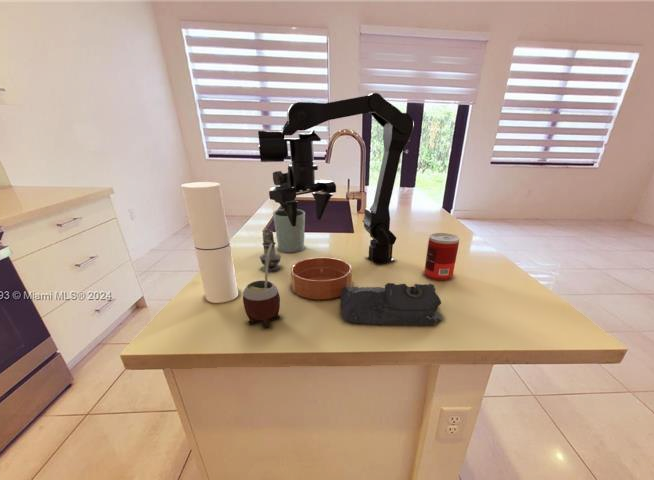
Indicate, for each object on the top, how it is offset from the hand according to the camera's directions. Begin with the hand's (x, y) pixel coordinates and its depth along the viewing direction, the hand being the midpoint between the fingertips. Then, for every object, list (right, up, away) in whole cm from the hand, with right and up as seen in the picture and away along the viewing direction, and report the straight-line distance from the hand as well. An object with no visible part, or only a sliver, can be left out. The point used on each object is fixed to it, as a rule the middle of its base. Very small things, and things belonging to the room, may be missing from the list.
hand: (306, 222), depth 86 cm
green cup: (-8, -4, +19) cm, 21 cm away
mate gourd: (-6, -25, -21) cm, 33 cm away
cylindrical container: (-18, -20, -12) cm, 30 cm away
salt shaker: (-10, -13, +3) cm, 17 cm away
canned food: (+37, -14, +2) cm, 39 cm away
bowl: (+5, -18, -6) cm, 19 cm away
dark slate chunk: (+21, -23, -15) cm, 34 cm away
